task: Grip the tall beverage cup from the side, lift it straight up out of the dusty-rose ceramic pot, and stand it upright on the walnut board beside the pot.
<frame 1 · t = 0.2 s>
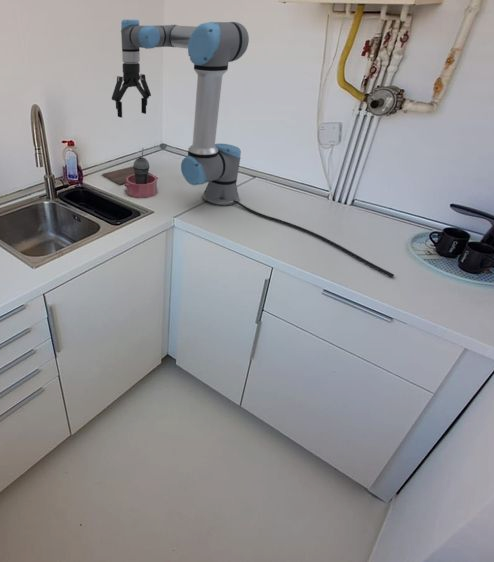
hand: (132, 115, 174), 28 cm above the worktop, tool pointing down, fingers open, 13 cm apart
pot: (141, 191, 171), on the worktop
beverage cup: (141, 191, 171), resting in pot
board: (127, 175, 187), on the worktop
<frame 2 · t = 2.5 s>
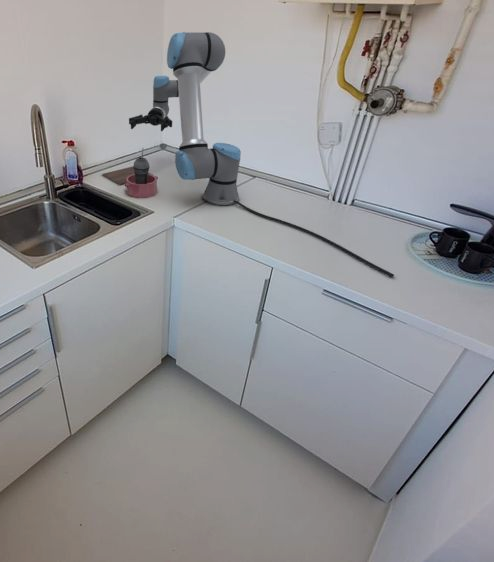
hand: (146, 127, 163), 26 cm above the worktop, tool horizontal, fingers open, 13 cm apart
nothing on the worktop moved.
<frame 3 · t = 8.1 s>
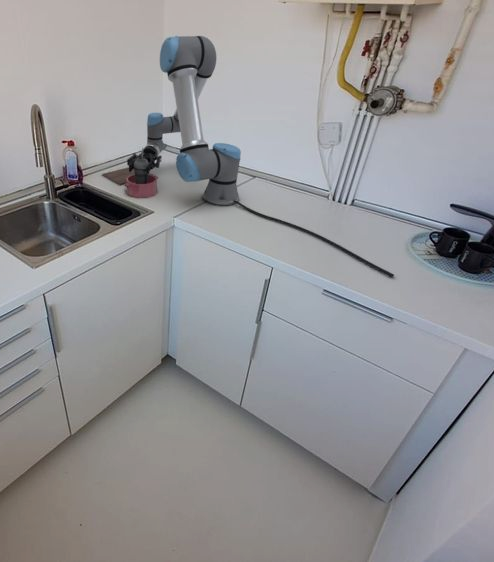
hand: (138, 169, 160), 12 cm above the worktop, tool horizontal, fingers closed on beverage cup, 7 cm apart
beverage cup: (141, 191, 171), resting in pot, touching gripper
when the fingers open (13 cm above the worktop, at t = 18.4 s): beverage cup stays where it is, resting on board.
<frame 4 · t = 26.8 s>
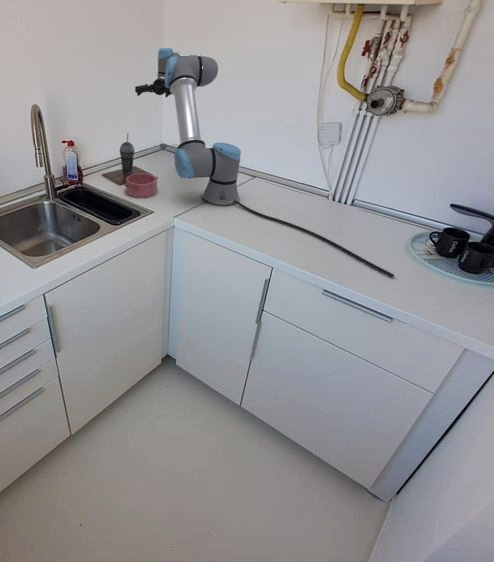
hand: (151, 93, 174), 36 cm above the worktop, tool horizontal, fingers open, 13 cm apart
beverage cup: (127, 174, 187), point 1 cm above the worktop, touching board
at the end: beverage cup inside the target area on the board (0.1 cm from its centre), point 0.6 cm above the board's base; beverage cup tilted 0°; the gripper is holding nothing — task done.
